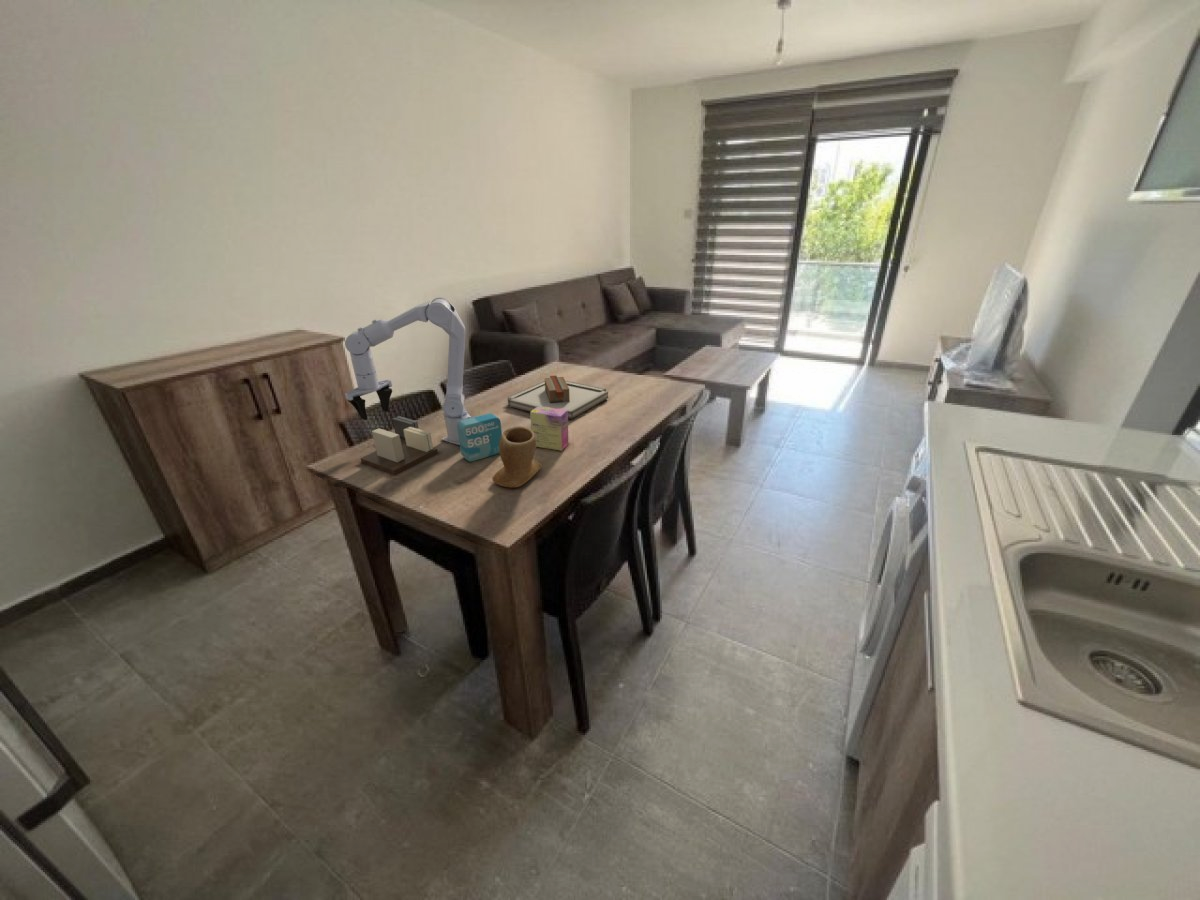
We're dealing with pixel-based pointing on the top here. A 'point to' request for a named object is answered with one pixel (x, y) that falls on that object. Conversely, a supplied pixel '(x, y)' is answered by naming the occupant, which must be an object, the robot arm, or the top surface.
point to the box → (550, 427)
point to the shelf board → (410, 459)
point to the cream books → (418, 439)
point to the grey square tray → (558, 396)
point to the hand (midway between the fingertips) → (375, 414)
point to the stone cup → (517, 457)
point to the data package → (479, 436)
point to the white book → (388, 445)
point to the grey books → (403, 425)
